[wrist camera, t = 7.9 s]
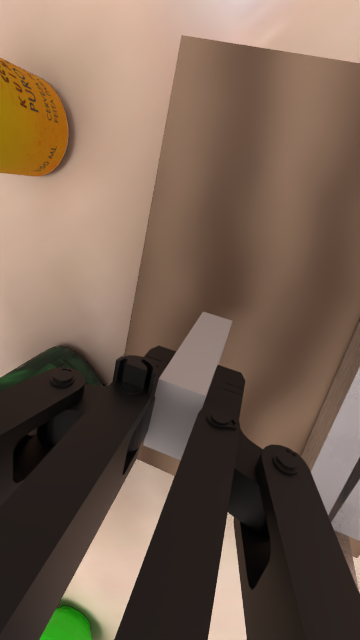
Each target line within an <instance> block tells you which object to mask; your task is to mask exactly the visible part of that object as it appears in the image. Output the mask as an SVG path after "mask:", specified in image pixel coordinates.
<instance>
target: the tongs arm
mask: <svg viewBox="0 0 360 640" xmlns="http://www.w3.org/2000/svg"><path fill="white" fill-rule="evenodd" d="M359 457H360V321H359V323H358V325H357V328H356V330H355V332H354V335H353V337H352V339H351V342H350V344H349V346H348V348H347V351H346V353H345V355H344V358H343V360H342V362H341V365H340V367H339V369H338V371H337V374H336V376H335V378H334V381H333V383H332V385H331V388H330V390H329V392H328V394H327V397H326V399H325V401H324V404H323V406H322V408H321V411H320V413H319V415H318V417H317V420H316V422H315V424H314V427H313V429H312V431H311V434H310V436H309V438H308V440H307V443H306V445H305V447H304V450H303V452H302V454H301V458H302V459H304V460H305V462H306V464H307V465H308V467H309V469H310V472H311V474H312V476H313V479H314V481H315V484H316V486H317V489H318V491H319V494H320V496H321V499H322V501H323V504H324V506H325V509H326V511H327V514H328V515H329V513H330V511H331V509H332V508H333V506H334V504H335V502H336V500H337V498H338V496H339V494H340V493H341V491H342V489H343V487H344V485H345V483H346V481H347V480H348V478H349V476H350V474H351V472H352V470H353V468H354V466H355V465H356V463H357V461H358V459H359Z"/></svg>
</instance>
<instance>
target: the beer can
mask: <svg viewBox="0 0 360 640" xmlns="http://www.w3.org/2000/svg"><path fill="white" fill-rule="evenodd" d="M68 140H69V128H68V122H67V117H66V113H65V110H64V107H63V104H62V102H61V100H60V98H59V96H58V95H57V93H56V92H55V91H54V89H53V88H52V87H51V86H50V85H49V84H48V83H47V82H46V81H44V80H43V79H41V78H39V77H37V76H35V75H33V74H31V73H29V72H27V71H25V70H23V69H21V68H19V67H17V66H15V65H13V64H11V63H10V62H8V61H6V60H4V59H2V58H0V173H8V174H17V175H27V176H43V175H46V174H48V173H50V172H51V171H53V170H54V169H55V168H56V167H57V166H58V164H59V163H60V162H61V160H62V158H63V156H64V154H65V152H66V149H67V145H68Z"/></svg>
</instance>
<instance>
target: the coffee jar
mask: <svg viewBox="0 0 360 640" xmlns="http://www.w3.org/2000/svg"><path fill="white" fill-rule="evenodd" d="M61 367H66V368H73V369H75V370H77V371H79V372H81V373H82V374H83V375H84V377H85V384H89V385H96V386H103V384H102V382H101V380H100V378H99V377H98V375H97V374H96V372H95V371H94V369H93V368H92V367H91V366H90V365H89V364H88V362H87V361H86V360H85V359H83V358H82V357H81V356H80V355H78V354H77V353H76V352H74V351H72V350H70V349H68V348H66V347H53V348H50V349H48V350H46V351H45V352H43V353H41V354H39V355H38V356H36V357H34V358H32V359H31V360H29V361H27V362H26V363H24V364H22V365H21V366H19V367H17V368H16V369H14V370H12V371H11V372H9V373H7V374H6V375H4V376H3V377H1V378H0V392H2V391H4V390H6V389H9V388H11V387H13V386H15V385H17V384H19V383H22V382H24V381H26V380H28V379H30V378H32V377H34V376H37V375H39V374H41V373H43V372H45V371H47V370H50V369H54V368H61Z"/></svg>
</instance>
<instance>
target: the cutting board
mask: <svg viewBox="0 0 360 640" xmlns="http://www.w3.org/2000/svg"><path fill="white" fill-rule="evenodd" d="M202 312H206V313H209V314H213V315H216V316H219V317H222V318H225V319H229V320H232V324H231V327H230V331H229V334H228V337H227V340H226V343H225V346H224V350H223V353H222V356H221V359H220V362H219V365H220V366H223V367H226V368H229V369H232V370H235V371H238V372H241V373H242V375H243V377H244V379H245V387H244V393H243V399H242V405H241V411H240V417H239V423H240V428H241V430H242V432H243V433H244V435H245V436H246V437H247V438H248V439H249V440H250V441H252V442H253V443H254V444H256V445H257V446H259V447H260V448H262V449H264V448H265V447H266V446H269V445H271V444H273V445H282V446H284V447H287V448H289V449H291V450H293V451H294V452H296V453H297V454H298V455H299V456H300V457H301V454H302V452H303V450H304V447H305V445H306V443H307V440H308V438H309V436H310V434H311V431H312V429H313V427H314V424H315V422H316V420H317V417H318V415H319V413H320V411H321V408H322V406H323V404H324V401H325V399H326V397H327V394H328V392H329V390H330V388H331V385H332V383H333V381H334V378H335V376H336V374H337V371H338V369H339V367H340V365H341V362H342V360H343V358H344V355H345V353H346V351H347V348H348V346H349V344H350V342H351V339H352V337H353V335H354V332H355V330H356V328H357V325H358V323H359V321H360V64H359V63H353V62H347V61H340V60H334V59H328V58H321V57H315V56H309V55H303V54H296V53H290V52H284V51H277V50H271V49H265V48H258V47H252V46H246V45H239V44H233V43H227V42H220V41H214V40H208V39H201V38H195V37H189V36H183V35H182V37H181V42H180V48H179V53H178V59H177V65H176V70H175V76H174V81H173V87H172V92H171V98H170V104H169V109H168V115H167V120H166V126H165V131H164V137H163V143H162V148H161V154H160V159H159V165H158V170H157V176H156V182H155V187H154V193H153V198H152V204H151V209H150V215H149V221H148V226H147V232H146V237H145V243H144V248H143V254H142V260H141V265H140V271H139V276H138V282H137V288H136V293H135V299H134V304H133V310H132V315H131V321H130V327H129V332H128V338H127V343H126V349H125V354H124V356H127V355H137V356H141V357H144V356H145V355H146V353H147V352H148V351H149V350H150V349H152V348H154V347H157V346H162V347H165V348H168V349H171V350H174V351H177V350H178V349H179V347H180V346H181V344H182V343H183V341H184V340H185V338H186V337H187V335H188V334H189V332H190V331H191V329H192V328H193V326H194V325H195V323H196V322H197V320H198V318H199V317H200V315H201V314H202ZM144 440H145V437H144V439H143V441H142V443H141V445H140V448H139V452H138V456H137V459H139V460H141V461H143V462H145V463H147V464H150V465H152V466H154V467H156V468H158V469H161V470H163V471H165V472H167V473H170V474H172V475H174V476H175V474H176V472H177V469H178V466H179V464H180V461H181V460H179V459H176V458H174V457H171V456H169V455H166V454H164V453H161V452H159V451H156V450H154V449H151V448H149V447H146V446H144V445H143V444H144ZM349 541H350V546H351V551H352V556H354V557H356V558H358V556H359V555H360V541H358V540H356V539H354V538H351V537H349Z"/></svg>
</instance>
